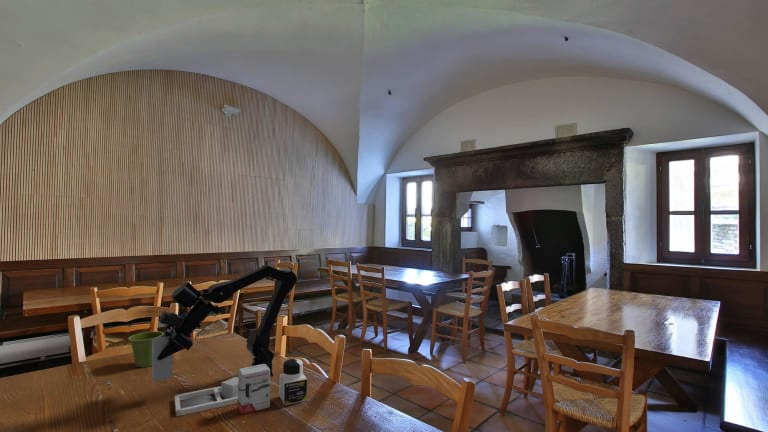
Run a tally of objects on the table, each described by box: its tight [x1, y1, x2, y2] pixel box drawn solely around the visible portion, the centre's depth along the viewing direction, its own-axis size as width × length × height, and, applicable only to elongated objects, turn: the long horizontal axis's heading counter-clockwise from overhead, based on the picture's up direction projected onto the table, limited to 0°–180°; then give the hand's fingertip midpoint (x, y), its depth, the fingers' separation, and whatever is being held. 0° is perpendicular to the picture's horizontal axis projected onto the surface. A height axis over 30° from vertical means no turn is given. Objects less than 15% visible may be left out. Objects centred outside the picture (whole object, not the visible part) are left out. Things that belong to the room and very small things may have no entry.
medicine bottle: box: [278, 358, 308, 406], centre depth 125 cm, size 7×7×12 cm
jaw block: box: [151, 336, 173, 382], centre depth 124 cm, size 5×5×12 cm
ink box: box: [237, 364, 271, 415], centre depth 119 cm, size 8×5×12 cm, turn 123°
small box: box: [220, 376, 238, 399], centre depth 127 cm, size 6×6×5 cm
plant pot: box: [128, 330, 165, 368], centre depth 153 cm, size 12×12×11 cm
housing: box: [174, 386, 238, 418], centre depth 124 cm, size 22×12×2 cm, turn 120°
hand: (157, 357), depth 123 cm, fingers closed on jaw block, 5 cm apart
